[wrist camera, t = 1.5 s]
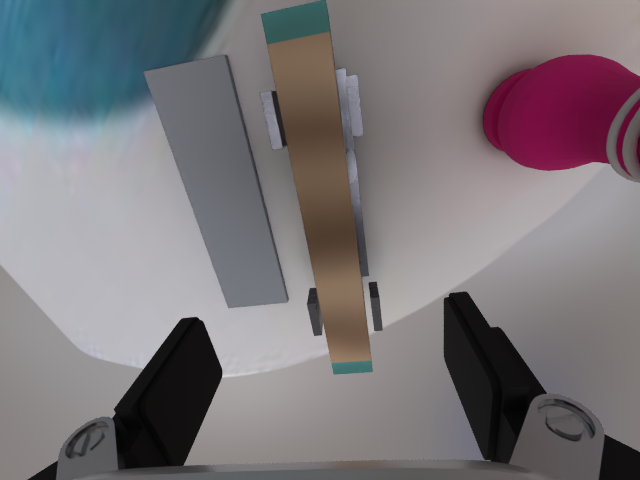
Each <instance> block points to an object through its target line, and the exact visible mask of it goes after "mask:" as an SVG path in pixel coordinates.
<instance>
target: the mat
mask: <svg viewBox="0 0 640 480" xmlns="http://www.w3.org/2000/svg"><path fill="white" fill-rule="evenodd" d="M144 75H145V78H146V81H147V83H148V86H149V89H150V92H151V94H152V97H153V100H154V103H155V106H156V108H157V111H158V114H159V117H160V120H161V122H162V125H163V128H164V131H165V133H166V136H167V139H168V142H169V145H170V147H171V150H172V153H173V156H174V158H175V161H176V164H177V167H178V170H179V172H180V175H181V178H182V181H183V183H184V186H185V189H186V192H187V195H188V197H189V200H190V203H191V206H192V208H193V211H194V214H195V217H196V220H197V222H198V225H199V228H200V231H201V233H202V236H203V239H204V242H205V245H206V247H207V250H208V253H209V256H210V259H211V261H212V264H213V267H214V270H215V272H216V275H217V278H218V281H219V284H220V286H221V289H222V292H223V295H224V297H225V300H226V303H227V306H228V308H235V307H245V306H256V305H266V304H277V303H287V302H288V300H289V299H288V295H287V291H286V287H285V283H284V279H283V275H282V271H281V267H280V263H279V259H278V255H277V251H276V247H275V243H274V239H273V235H272V231H271V227H270V223H269V219H268V216H267V212H266V208H265V204H264V200H263V196H262V192H261V188H260V184H259V180H258V176H257V172H256V168H255V164H254V160H253V156H252V152H251V148H250V144H249V140H248V136H247V132H246V128H245V124H244V121H243V117H242V113H241V109H240V105H239V101H238V97H237V93H236V89H235V85H234V81H233V77H232V73H231V69H230V65H229V61H228V57H227V55H221V56H216V57H211V58H207V59H202V60H197V61H192V62H188V63H183V64H178V65H173V66H169V67H164V68H159V69H154V70H149V71H145V72H144Z"/></svg>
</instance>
